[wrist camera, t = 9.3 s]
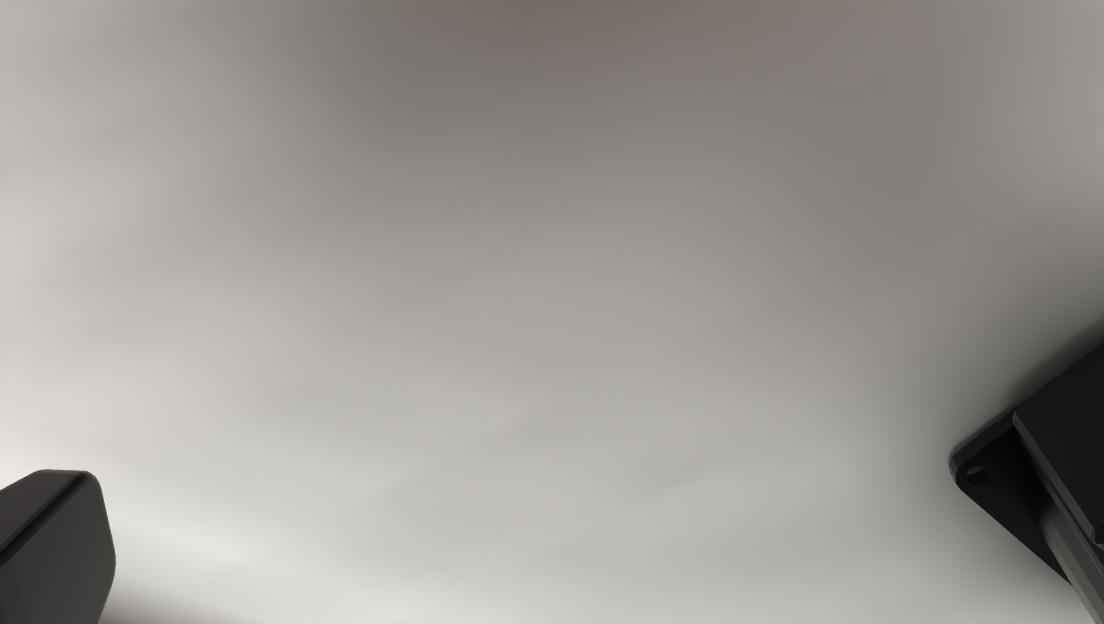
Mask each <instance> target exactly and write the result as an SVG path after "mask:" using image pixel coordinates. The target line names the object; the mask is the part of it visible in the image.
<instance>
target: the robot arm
mask: <svg viewBox="0 0 1104 624" xmlns="http://www.w3.org/2000/svg"><path fill="white" fill-rule="evenodd" d="M976 466H984V467H983V468H982V469H981V470H980V471H979V472H977V473H974V474H967V473H968V472H969V471H970V469H972V468H974V467H976ZM949 467H950V473H951V475H952V477H953V479H954V481H955V483H956V484H957V486H958V487H959V488H960V490H962V491H963V492H964V493H965V494H966V495H967V496H969V497H970V498H971V499H972V500H973V501H974V502H976V503H977V504H978V505H979V506H980V507H981V508H983V509H984V510H985V511H986V512H987V513H988V514H989V515H991V516H992V517H993V518H994V519H995V520H996V521H998V522H999V523H1000V524H1001V525H1002V526H1003V527H1005V528H1006V529H1007V530H1008V531H1009V532H1010V533H1012V534H1013V535H1014V536H1015V537H1016V538H1017V539H1019V540H1020V541H1021V542H1022V543H1023V544H1024V545H1025V546H1027V547H1028V548H1029V549H1030V550H1031V551H1032V552H1034V553H1035V554H1036V555H1037V556H1038V557H1039V558H1041V559H1042V560H1043V561H1044V562H1045V563H1046V564H1048V565H1049V566H1050V567H1051V568H1052V569H1053V570H1055V571H1056V572H1057V573H1058V574H1059V575H1060V576H1061V577H1063V578H1064V579H1065V580H1066V581H1067V582H1068V583H1070V584H1071V585H1072V586H1073V587H1074V589H1075V590H1076V592H1077V594H1078V595H1079V597H1080V599H1081V600H1082V602H1083V604H1084V605H1085V607H1086V609H1087V610H1088V612H1089V614H1090V615H1091V617H1092V618H1093V620H1094V622H1095V623H1096V624H1104V342H1102V343H1101V344H1100V345H1098V346H1097V347H1096V348H1094V349H1093V350H1092V351H1090V352H1089V353H1088V354H1086V355H1085V356H1084V357H1083V358H1081V359H1080V360H1079V361H1077V362H1076V363H1075V364H1073V365H1072V366H1071V367H1069V368H1068V369H1067V370H1065V371H1064V372H1063V373H1061V374H1060V375H1059V376H1057V377H1056V378H1055V379H1053V380H1052V381H1051V382H1049V383H1048V384H1047V385H1045V386H1044V387H1043V388H1041V389H1040V390H1039V391H1038V392H1036V393H1035V394H1034V395H1032V396H1031V397H1030V398H1028V399H1027V400H1026V401H1024V402H1023V403H1022V404H1020V405H1019V406H1018V407H1016V408H1015V409H1014V410H1012V411H1011V412H1010V413H1008V414H1007V415H1006V416H1004V417H1003V418H1002V419H1000V420H999V421H998V422H997V423H995V424H994V425H993V426H991V427H990V428H989V429H987V430H986V431H985V432H983V433H982V434H981V435H979V436H978V437H977V438H975V439H974V440H973V441H971V442H970V443H969V444H967V445H966V446H965V447H963V448H962V449H961V450H959V451H958V452H957V453H956V454H955V455H954V456H953V457H952V459H951V462H950V465H949ZM115 566H116V555H115V549H114V544H113V540H112V535H111V530H110V526H109V521H108V517H107V512H106V508H105V503H104V499H103V494H102V490H101V487H100V484H99V482H98V480H97V478H96V477H95V476H94V475H93V474H91V473H89V472H88V471H77V470H51V469H46V470H39V471H36V472H33V473H31V474H29V475H28V476H26V477H24V478H22V479H20V480H18V481H17V482H15V483H13V484H11V485H9V486H7V487H5V488H4V489H2V490H0V624H99V621H100V618H101V615H102V612H103V609H104V607H105V604H106V601H107V598H108V595H109V592H110V590H111V587H112V583H113V580H114V575H115Z"/></svg>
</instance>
